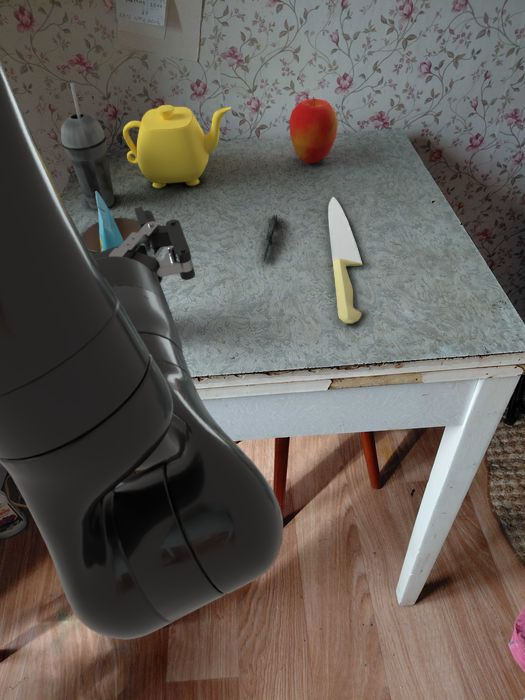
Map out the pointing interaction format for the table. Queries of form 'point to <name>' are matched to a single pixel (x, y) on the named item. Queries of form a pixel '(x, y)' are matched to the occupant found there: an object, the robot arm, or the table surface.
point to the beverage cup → (88, 155)
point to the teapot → (172, 144)
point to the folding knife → (270, 234)
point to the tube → (107, 226)
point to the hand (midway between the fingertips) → (94, 227)
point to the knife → (343, 261)
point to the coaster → (93, 235)
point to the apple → (313, 129)
